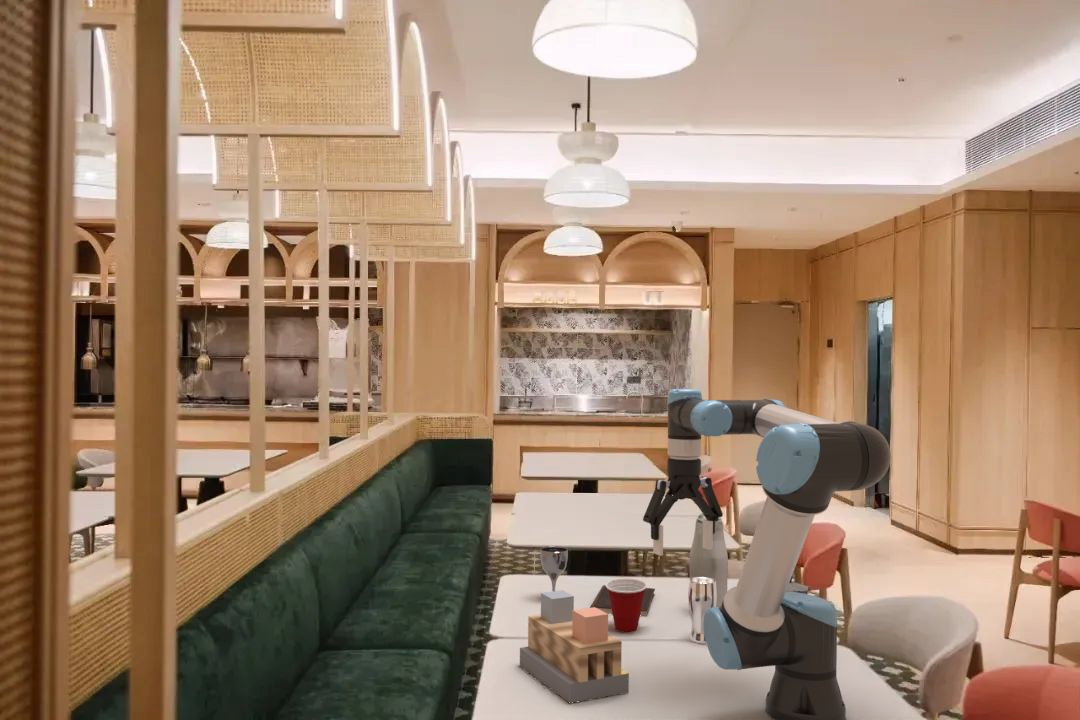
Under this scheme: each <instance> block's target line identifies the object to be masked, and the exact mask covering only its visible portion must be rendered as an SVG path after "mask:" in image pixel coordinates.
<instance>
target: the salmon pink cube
mask: <svg viewBox="0 0 1080 720" xmlns="http://www.w3.org/2000/svg"><path fill="white" fill-rule="evenodd" d="M608 634H609V614H608V613H605V612H603V611H601V610H599V609H597V608H595V607H593V608H590V607H588V608H581V609H574V610H573V614H572V636H573V637H574V638H576V639H578V640H579V641H581V642H583V643H584V644H588V643H595V642H601V641H607V640H608Z"/></svg>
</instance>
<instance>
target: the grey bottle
mask: <svg viewBox="0 0 1080 720" xmlns="http://www.w3.org/2000/svg"><path fill="white" fill-rule="evenodd" d="M718 518H719V519H718V521H715V533H714V534H713V550H708V549H705V548H703V519H707V518H706V517H705V516H704V514H703V513H702V512H701V513H700V514H699V515H698V517H696V520H695V524H694V525H695V528H694V533H693V534H694V535H693V540H692V543H691V547H690V552H689V579H690V578H692V577H709V578H713V579H715V580H716V589H717V603H716V607H720V606H721V605H722V602H723V599H724V596H725V594H726V592H727V591H728V578H729V577H728V575H729V574H728V573H729V558H728V557H729V556H728V555H729V554H728V550H727V545H726V540H725V533H724V522H723V519H722V517H718Z"/></svg>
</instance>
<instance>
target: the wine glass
mask: <svg viewBox="0 0 1080 720" xmlns="http://www.w3.org/2000/svg"><path fill="white" fill-rule="evenodd" d="M539 550H540V552H539V553H540V564H541V567H542V569H543V571H544V572H545V573H546V575H547V576H548V577H549V579H550V581H551V592H553V591H556V586H557V585H556V584H557V581H558V579H559V577H560V576H561V575H562V574H563V572H564V571H565V570H566V568H567V563H568V559H569V558H568V557H569V555H568V554H569V550H568V547H566V546H565V547H564V546H558V545H547V546H543V547H540V549H539Z"/></svg>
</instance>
